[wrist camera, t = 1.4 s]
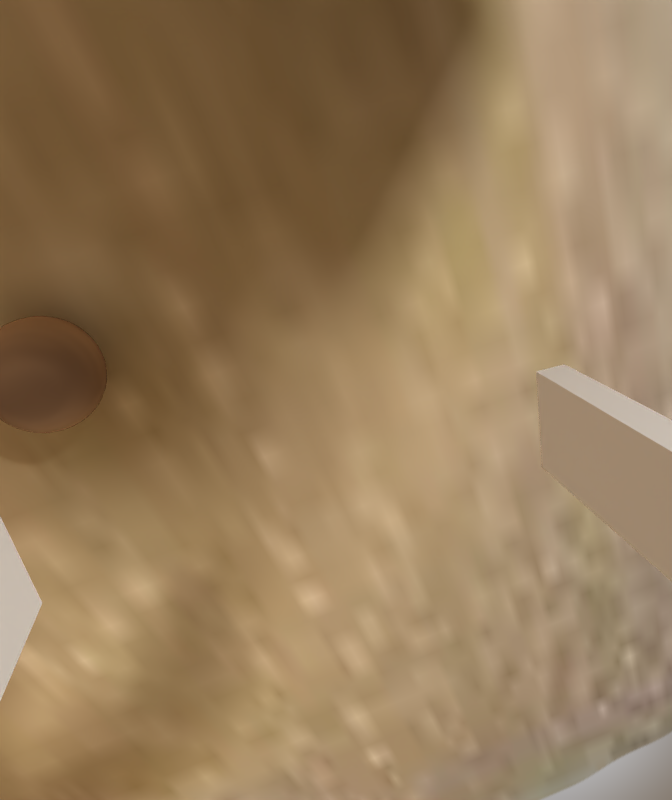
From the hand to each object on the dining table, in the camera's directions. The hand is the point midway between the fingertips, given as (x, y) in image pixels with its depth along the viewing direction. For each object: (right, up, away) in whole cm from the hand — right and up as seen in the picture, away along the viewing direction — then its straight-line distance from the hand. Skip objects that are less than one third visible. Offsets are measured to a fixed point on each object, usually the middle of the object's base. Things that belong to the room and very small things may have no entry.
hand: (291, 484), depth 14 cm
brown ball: (-13, +3, +13) cm, 19 cm away
